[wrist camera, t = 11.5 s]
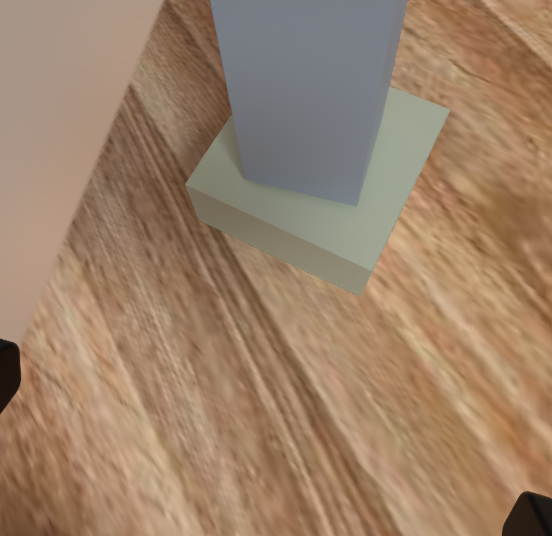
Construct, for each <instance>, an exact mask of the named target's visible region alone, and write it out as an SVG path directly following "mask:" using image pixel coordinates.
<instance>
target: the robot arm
mask: <svg viewBox="0 0 552 536" xmlns="http://www.w3.org/2000/svg"><path fill="white" fill-rule="evenodd" d="M20 382H21V367H20V351H19V347H18V346H17V344H15V343H14V342H10V341H7V340H3V339H0V414H1V413H2V411H3V410H4V409H5V407H6V406H7V405H8V403H9V402H10V401H11V399H12V398H13V396H14V395H15V394H16V392H17V390H18V388H19V386H20ZM502 536H552V499H551V498H549V497H547V496H543V495H540V494H536V493H533V492H529V491H526V492H523V493H522V494H521V495H520V496H519V498H518V499H517V501H516V503H515V505H514V507H513V508H512V510H511V512H510V514H509V516H508V517H507V519H506V521H505V523H504V526H503V530H502Z"/></svg>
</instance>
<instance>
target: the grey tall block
mask: <svg viewBox="0 0 552 536" xmlns="http://www.w3.org/2000/svg"><path fill="white" fill-rule="evenodd" d="M407 2H408V0H210V3H211V8H212V13H213V19H214V24H215V29H216V34H217V39H218V44H219V49H220V54H221V60H222V65H223V70H224V75H225V80H226V85H227V90H228V95H229V101H230V106H231V111H232V116H233V121H234V126H235V131H236V136H237V142H238V147H239V152H240V157H241V162H242V167H243V172H244V177H245V180H248V181H253V182H257V183H261V184H265V185H269V186H273V187H278V188H282V189H286V190H290V191H294V192H298V193H303V194H307V195H311V196H315V197H319V198H323V199H328V200H332V201H336V202H340V203H344V204H348V205H353V206H357V204H358V201H359V197H360V194H361V190H362V187H363V183H364V180H365V176H366V173H367V169H368V166H369V162H370V159H371V155H372V152H373V148H374V145H375V141H376V138H377V134H378V131H379V127H380V124H381V120H382V117H383V113H384V108H385V104H386V99H387V94H388V90H389V85H390V80H391V76H392V71H393V67H394V62H395V57H396V53H397V48H398V43H399V39H400V34H401V30H402V25H403V20H404V16H405V11H406V6H407Z"/></svg>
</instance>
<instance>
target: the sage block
mask: <svg viewBox="0 0 552 536" xmlns="http://www.w3.org/2000/svg"><path fill="white" fill-rule="evenodd" d="M449 111H450V109H448V108H445V107H443V106H440V105H437V104H435V103H432V102H430V101H427V100H424V99H422V98H419V97H417V96H414V95H412V94H409V93H406V92H404V91H401V90H399V89H396V88H393V87H391V86H389V90H388V94H387V99H386V104H385V108H384V113H383V117H382V120H381V124H380V127H379V131H378V134H377V138H376V141H375V145H374V148H373V152H372V155H371V159H370V162H369V166H368V169H367V173H366V176H365V180H364V183H363V187H362V190H361V194H360V197H359V201H358V204H357V206H353V205H348V204H344V203H340V202H336V201H332V200H328V199H323V198H319V197H315V196H311V195H307V194H303V193H298V192H294V191H290V190H286V189H282V188H278V187H273V186H269V185H265V184H261V183H257V182H253V181H248V180H245V177H244V172H243V167H242V162H241V157H240V152H239V147H238V142H237V136H236V131H235V126H234V121H233V116H232V114H231V116H230V117H229V119H228V120H227V122H226V123H225V125H224V126H223V128H222V129H221V131H220V132H219V134H218V135H217V137H216V138H215V140H214V141H213V143H212V144H211V146H210V147H209V149H208V150H207V152H206V153H205V155H204V156H203V158H202V159H201V161H200V162H199V164H198V165H197V167H196V168H195V170H194V171H193V173H192V174H191V176H190V177H189V179H188V180H187V182H186V183H185V186H186V189H187V191H188V194H189V197H190V199H191V202H192V204H193V207H194V210H195V212H196V215H197V217H198V220H199V221H201V222H203V223H205V224H207V225H209V226H211V227H213V228H216V229H218V230H220V231H222V232H224V233H226V234H228V235H230V236H232V237H234V238H236V239H239V240H241V241H243V242H245V243H247V244H249V245H251V246H253V247H255V248H257V249H260V250H262V251H264V252H266V253H268V254H270V255H272V256H274V257H276V258H278V259H280V260H283V261H285V262H287V263H289V264H291V265H293V266H295V267H297V268H299V269H301V270H304V271H306V272H308V273H310V274H312V275H314V276H316V277H318V278H320V279H322V280H324V281H327V282H329V283H331V284H333V285H335V286H337V287H339V288H341V289H343V290H345V291H348V292H350V293H352V294H354V295H356V296H358V297H361V294H362V292H363V290H364V288H365V286H366V284H367V282H368V280H369V278H370V276H371V274H372V272H373V270H374V268H375V266H376V263H377V261H378V259H379V257H380V255H381V253H382V251H383V249H384V247H385V245H386V243H387V241H388V239H389V237H390V235H391V232H392V230H393V228H394V226H395V224H396V222H397V220H398V218H399V216H400V214H401V212H402V210H403V208H404V206H405V203H406V201H407V199H408V197H409V195H410V193H411V191H412V189H413V187H414V185H415V183H416V181H417V179H418V177H419V175H420V172H421V170H422V168H423V166H424V164H425V162H426V160H427V158H428V156H429V154H430V152H431V150H432V147H433V145H434V143H435V141H436V139H437V137H438V135H439V133H440V130H441V128H442V126H443V124H444V122H445V120H446V118H447V116H448V113H449Z"/></svg>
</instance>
